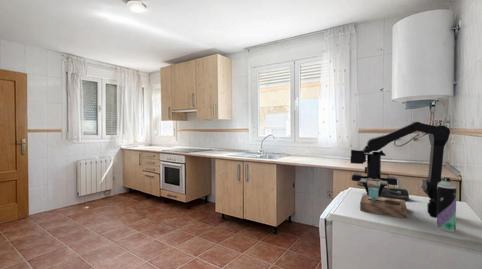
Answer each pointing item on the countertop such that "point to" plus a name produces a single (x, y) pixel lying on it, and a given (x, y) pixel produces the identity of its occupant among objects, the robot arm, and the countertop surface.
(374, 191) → the teal peg
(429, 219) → the countertop surface
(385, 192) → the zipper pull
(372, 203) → the keyhole plate
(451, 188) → the spray can
